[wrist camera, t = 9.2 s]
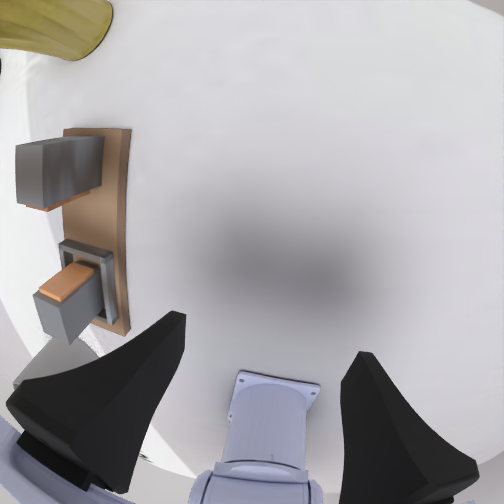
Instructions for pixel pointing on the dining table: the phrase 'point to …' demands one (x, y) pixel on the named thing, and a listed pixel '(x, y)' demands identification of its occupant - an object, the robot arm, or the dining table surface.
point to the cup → (57, 359)
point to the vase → (54, 26)
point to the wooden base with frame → (84, 204)
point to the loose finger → (70, 301)
